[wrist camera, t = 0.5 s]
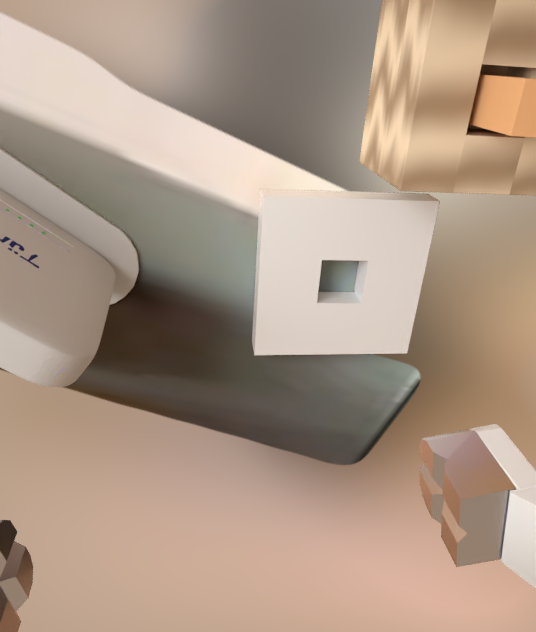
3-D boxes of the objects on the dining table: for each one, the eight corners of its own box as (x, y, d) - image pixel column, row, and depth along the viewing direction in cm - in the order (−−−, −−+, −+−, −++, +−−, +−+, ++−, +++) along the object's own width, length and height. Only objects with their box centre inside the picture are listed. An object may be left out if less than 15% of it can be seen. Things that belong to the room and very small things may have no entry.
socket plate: (260, 188, 52) (263, 196, 49) (428, 193, 54) (439, 201, 52) (252, 341, 60) (254, 355, 58) (398, 340, 63) (407, 353, 60)
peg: (458, 72, 43) (526, 78, 34) (498, 75, 43) (575, 82, 34) (448, 118, 44) (511, 136, 35) (487, 120, 45) (558, 138, 36)
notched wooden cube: (381, 1, 46) (437, -14, 35) (526, 13, 48) (620, 3, 37) (359, 162, 52) (400, 191, 41) (488, 167, 54) (558, 196, 43)
